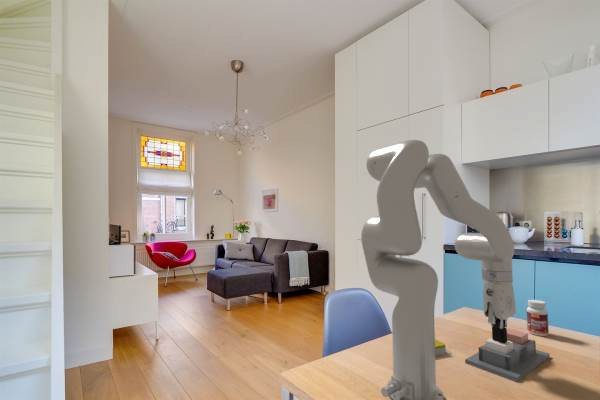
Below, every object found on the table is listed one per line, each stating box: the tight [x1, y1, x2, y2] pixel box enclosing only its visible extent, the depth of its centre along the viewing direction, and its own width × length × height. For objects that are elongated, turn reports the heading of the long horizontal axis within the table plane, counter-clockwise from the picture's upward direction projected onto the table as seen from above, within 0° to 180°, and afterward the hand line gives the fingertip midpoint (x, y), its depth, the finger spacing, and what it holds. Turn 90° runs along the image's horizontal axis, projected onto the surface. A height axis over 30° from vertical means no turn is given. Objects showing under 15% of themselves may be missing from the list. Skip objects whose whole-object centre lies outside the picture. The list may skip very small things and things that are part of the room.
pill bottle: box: [526, 299, 550, 337], centre depth 113 cm, size 6×6×11 cm
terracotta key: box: [507, 328, 529, 345], centre depth 96 cm, size 5×5×3 cm
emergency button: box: [435, 338, 452, 357], centre depth 99 cm, size 9×4×15 cm
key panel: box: [464, 338, 550, 383], centre depth 92 cm, size 24×13×4 cm, turn 126°
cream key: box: [485, 337, 513, 355], centre depth 89 cm, size 5×5×3 cm
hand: (499, 341), depth 89 cm, fingers closed
